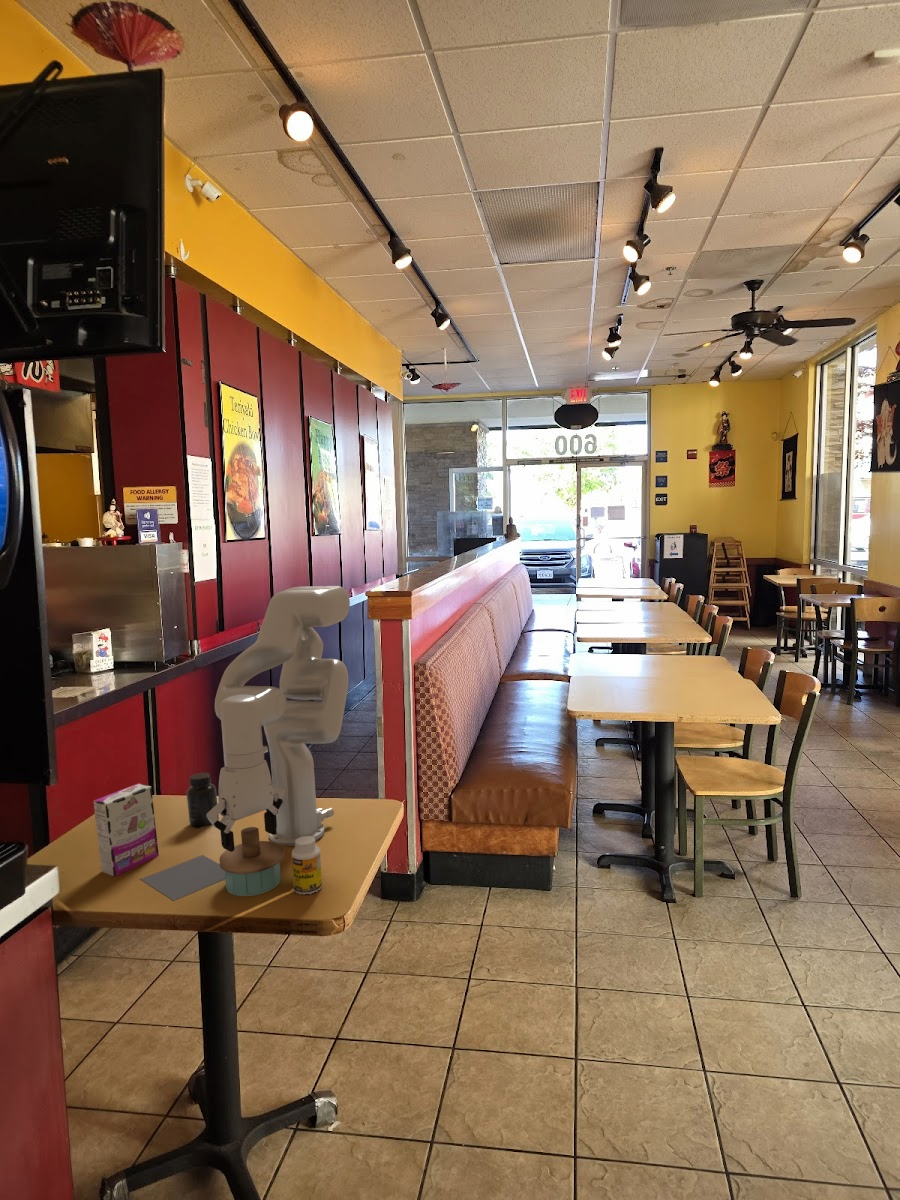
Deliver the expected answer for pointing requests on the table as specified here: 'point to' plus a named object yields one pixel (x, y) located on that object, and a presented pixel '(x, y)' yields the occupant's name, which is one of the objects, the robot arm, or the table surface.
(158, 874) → the mat
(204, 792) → the supplement bottle
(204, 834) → the table surface
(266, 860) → the lid
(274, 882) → the bowl
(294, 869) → the supplement bottle
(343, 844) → the table surface
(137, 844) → the candy bar box
